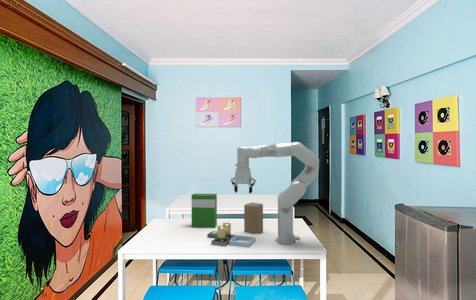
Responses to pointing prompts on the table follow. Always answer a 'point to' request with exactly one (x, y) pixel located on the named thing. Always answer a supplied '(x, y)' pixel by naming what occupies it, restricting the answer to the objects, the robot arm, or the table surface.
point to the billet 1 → (221, 233)
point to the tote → (242, 244)
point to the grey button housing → (211, 235)
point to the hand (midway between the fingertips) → (243, 192)
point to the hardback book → (204, 210)
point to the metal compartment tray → (216, 242)
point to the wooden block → (253, 218)
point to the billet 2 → (228, 229)
